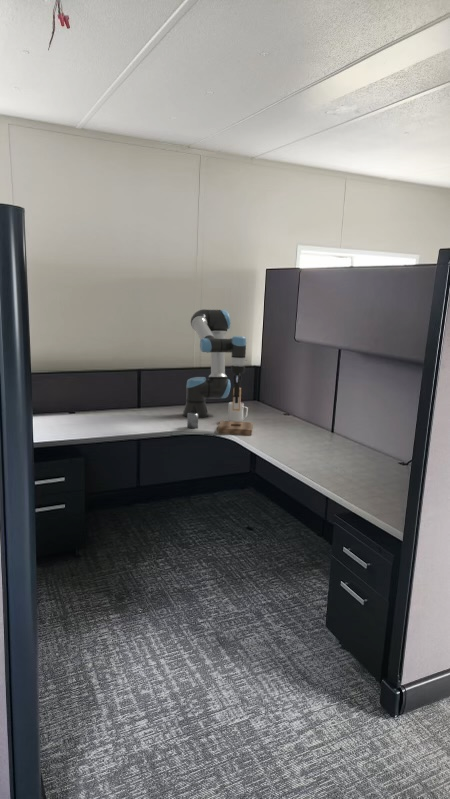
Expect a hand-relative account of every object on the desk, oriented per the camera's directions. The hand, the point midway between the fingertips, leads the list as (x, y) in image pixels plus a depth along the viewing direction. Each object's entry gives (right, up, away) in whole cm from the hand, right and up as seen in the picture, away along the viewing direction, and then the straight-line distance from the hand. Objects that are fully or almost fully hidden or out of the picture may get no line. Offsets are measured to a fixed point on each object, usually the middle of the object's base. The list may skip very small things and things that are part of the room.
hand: (236, 407), depth 295 cm
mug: (+1, -9, +23) cm, 25 cm away
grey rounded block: (-24, -11, +6) cm, 27 cm away
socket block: (-1, -12, +2) cm, 13 cm away
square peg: (0, -1, 0) cm, 1 cm away
